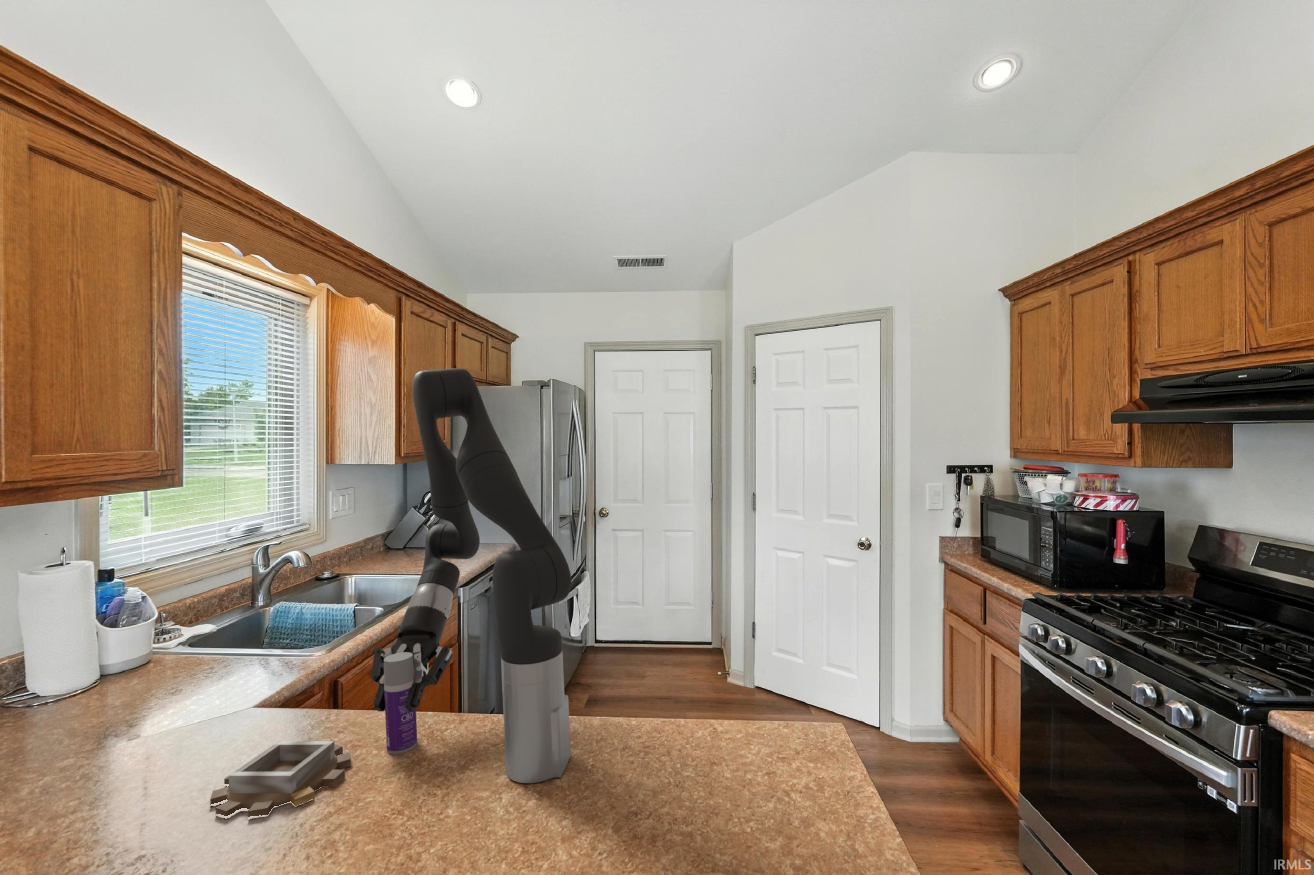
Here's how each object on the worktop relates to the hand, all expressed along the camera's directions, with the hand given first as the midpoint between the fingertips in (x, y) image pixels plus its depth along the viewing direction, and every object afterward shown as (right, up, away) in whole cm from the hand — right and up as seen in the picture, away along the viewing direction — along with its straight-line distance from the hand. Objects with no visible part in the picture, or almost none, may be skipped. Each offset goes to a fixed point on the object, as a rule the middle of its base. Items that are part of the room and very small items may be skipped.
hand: (394, 709), depth 93 cm
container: (0, -7, +2) cm, 8 cm away
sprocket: (-13, -8, -7) cm, 17 cm away
